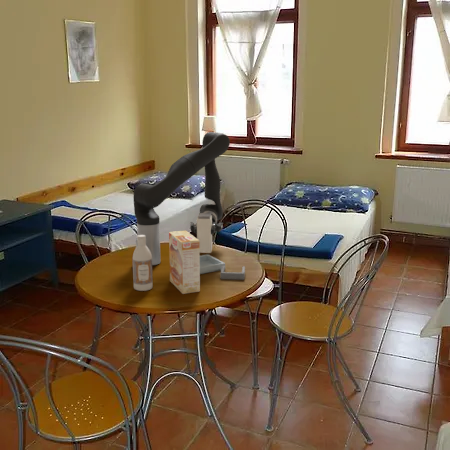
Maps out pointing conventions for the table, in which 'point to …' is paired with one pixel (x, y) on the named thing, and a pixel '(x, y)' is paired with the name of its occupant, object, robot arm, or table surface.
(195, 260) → the coffeecake box
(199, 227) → the box
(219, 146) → the robot arm
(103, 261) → the table surface
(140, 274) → the bath foam
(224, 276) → the dock
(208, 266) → the tray
